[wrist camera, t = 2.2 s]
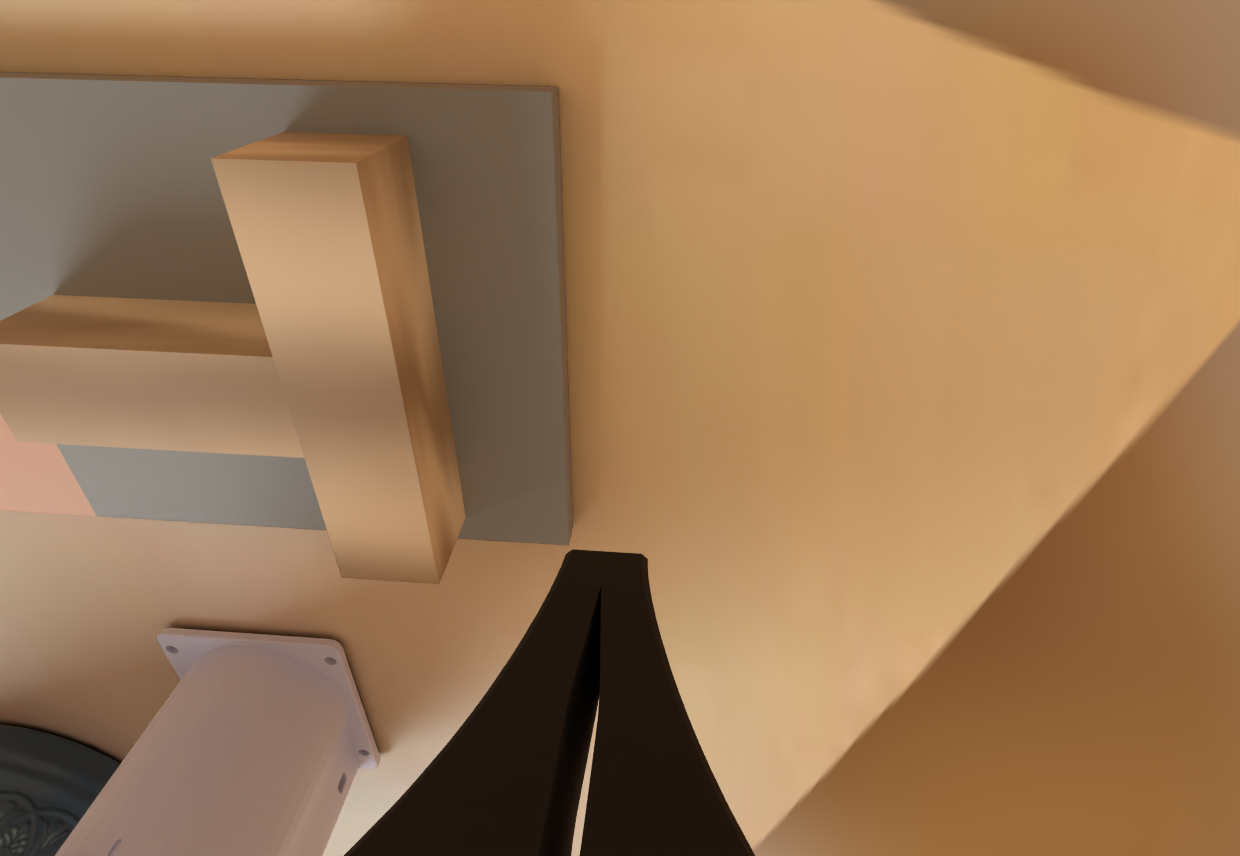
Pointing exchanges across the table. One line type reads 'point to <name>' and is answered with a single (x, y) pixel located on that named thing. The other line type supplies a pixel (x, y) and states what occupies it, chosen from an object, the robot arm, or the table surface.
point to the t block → (278, 353)
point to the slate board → (214, 272)
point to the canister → (45, 789)
